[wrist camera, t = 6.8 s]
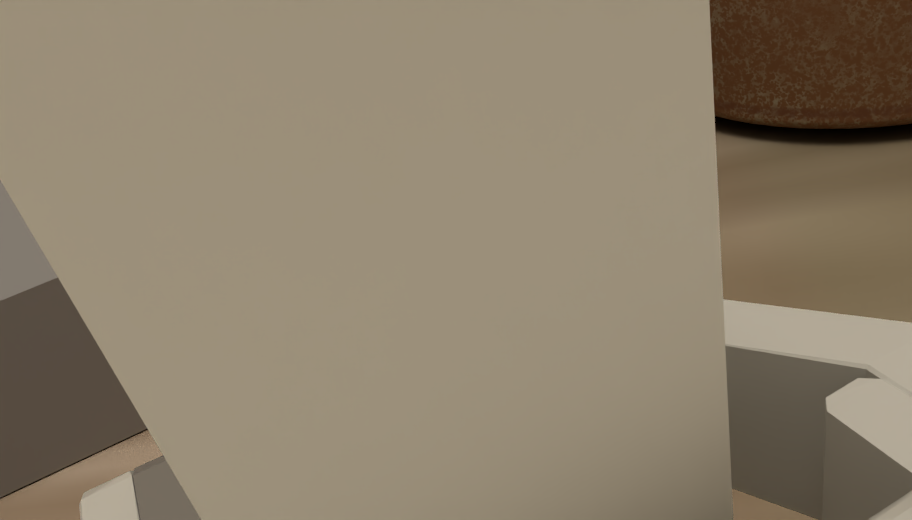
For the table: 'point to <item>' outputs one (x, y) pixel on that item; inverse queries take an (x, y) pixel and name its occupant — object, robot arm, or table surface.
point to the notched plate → (390, 246)
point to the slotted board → (49, 368)
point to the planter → (812, 62)
